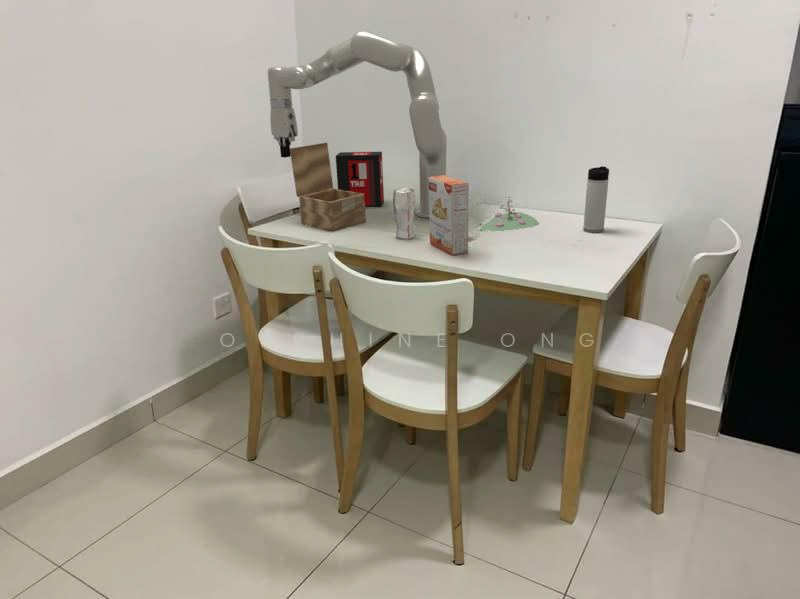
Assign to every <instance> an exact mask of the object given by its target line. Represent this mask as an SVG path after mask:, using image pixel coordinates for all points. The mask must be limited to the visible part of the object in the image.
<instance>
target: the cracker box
mask: <svg viewBox="0 0 800 599" xmlns="http://www.w3.org/2000/svg"><path fill="white" fill-rule="evenodd" d="M428 219H429V220H428V221H429V243H430V244H431V245H433V246H434V247H436V248H437V249H440V250H442V251H444V252H445V253H447V254H449V255H451V256H457V255H461V254H467V253H468V252H469V182H467V181H464V180H460V179H457V178H453V177H452V176H448V175H447V174H446V175H441V176H433V177H429V218H428ZM456 254H457V255H456Z"/></svg>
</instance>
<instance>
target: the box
mask: <svg viewBox="0 0 800 599" xmlns="http://www.w3.org/2000/svg"><path fill="white" fill-rule="evenodd" d="M298 198H299V199H298V200H299V210H300V221H301V225H302V224H303V225H302V226H305V225H307V226H306V227H310V226H311V227H310V228H314V227H315V228H314V229H318V228H319V230H322V231H327V232H331V233H333V232H337V231H339V230H343V229H346V228H349V227H353V226H356V225H357V226H358V225H359V224H363V223H366V221H367V220H366V219H367V218H366V208H365V198H364V194H362V193H356V192H350V191H344V190H338V188H333V189H329V190H325V191H321V192H317V193H312V194H308V195H304V196H299V197H298Z"/></svg>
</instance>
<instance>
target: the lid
mask: <svg viewBox="0 0 800 599" xmlns="http://www.w3.org/2000/svg"><path fill="white" fill-rule="evenodd" d="M290 155H291V156H290V161H291V166H292V167H291V168H292V172H293V173H292V174H293V180H294V186H295V188H294V189H295V192H296V197H297V198H299V197H300V196H304V195H308V194H313V193H317V192H321V191H326V190H330V189H334V185H333V177H332V169H331V162H330V160H331V159H330V154H329V145H328V142H322V143H316V144H311V145H303V146H296V147H290Z"/></svg>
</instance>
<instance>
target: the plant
mask: <svg viewBox="0 0 800 599" xmlns="http://www.w3.org/2000/svg"><path fill="white" fill-rule="evenodd" d="M510 198H511V197H510V196H508V200H507V202H506V204H507V206H506V207H504V205H501V206H500V207H499V209H502V210H504V212H506V213H501V212H497V213H496V214H494V215H495V217H494V218H493V219H491V220H490V221H489V222H488V223H486V224H484V225H482V227H481V228H480V230H483V231H482V232H487V231H486V230H490V231H492V232H491V233H496V232H495V231H501V232H506V230H508V231H514V230H513V229H515V230H520V229H519V228H522V229H526V228H527V227H529V228H534V227H536V226H537V225H539V221H538V220H537V219H536V218H535V217H533V216H531V215H529V214H527V213H524V212H521V211H515V210H516V209H514V208H513V209H512V211H511V208H512V207H514V206H513V205H510V203H513V200H512V199H510ZM527 229H528V228H527ZM504 230H505V231H504ZM493 231H494V232H493Z"/></svg>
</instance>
